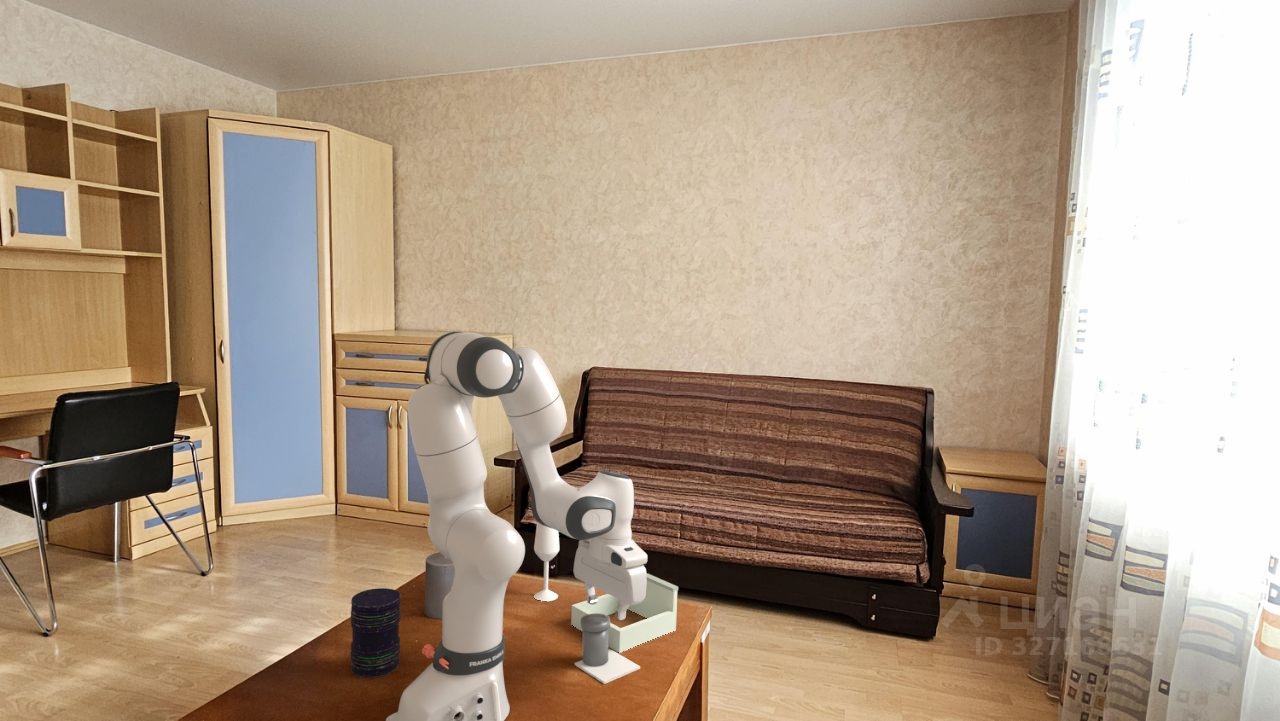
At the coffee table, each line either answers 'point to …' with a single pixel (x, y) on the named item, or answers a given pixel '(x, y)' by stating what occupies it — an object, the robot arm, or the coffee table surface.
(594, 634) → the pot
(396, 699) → the coffee table surface
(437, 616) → the pillar candle
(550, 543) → the champagne flute
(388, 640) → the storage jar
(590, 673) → the mat
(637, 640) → the frame
